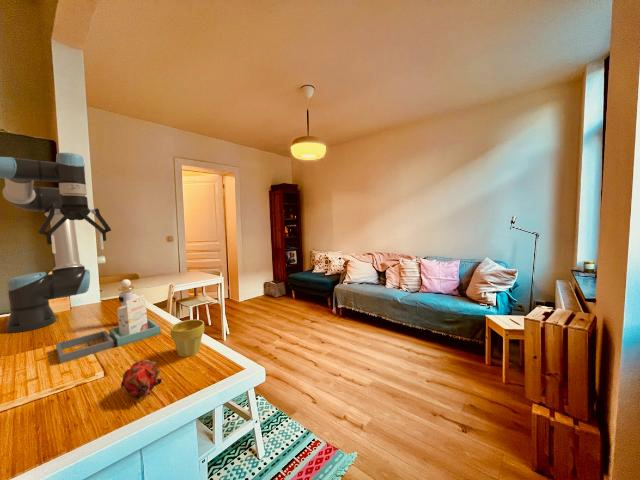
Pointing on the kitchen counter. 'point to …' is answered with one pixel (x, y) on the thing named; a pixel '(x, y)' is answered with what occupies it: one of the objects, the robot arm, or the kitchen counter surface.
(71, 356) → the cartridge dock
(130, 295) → the perfume bottle
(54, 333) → the kitchen counter surface
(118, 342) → the teal tray
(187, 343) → the plant pot
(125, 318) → the ink cartridge box
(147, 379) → the dragon fruit
